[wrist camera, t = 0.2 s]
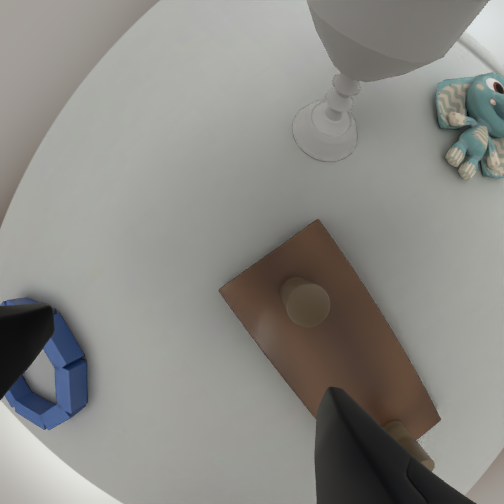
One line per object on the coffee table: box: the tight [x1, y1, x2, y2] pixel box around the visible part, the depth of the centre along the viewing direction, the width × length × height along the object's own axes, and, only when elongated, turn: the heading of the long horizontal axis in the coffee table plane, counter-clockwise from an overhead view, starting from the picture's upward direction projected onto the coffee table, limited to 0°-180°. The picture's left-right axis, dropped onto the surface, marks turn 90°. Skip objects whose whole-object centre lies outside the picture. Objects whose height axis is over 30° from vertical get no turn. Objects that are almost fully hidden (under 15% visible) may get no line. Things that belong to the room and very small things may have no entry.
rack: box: [219, 219, 441, 472], centre depth 16 cm, size 8×20×8 cm, turn 35°
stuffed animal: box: [436, 73, 504, 180], centre depth 17 cm, size 11×7×12 cm
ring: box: [0, 298, 88, 430], centre depth 20 cm, size 12×12×3 cm
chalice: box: [293, 0, 489, 162], centre depth 12 cm, size 7×7×18 cm
